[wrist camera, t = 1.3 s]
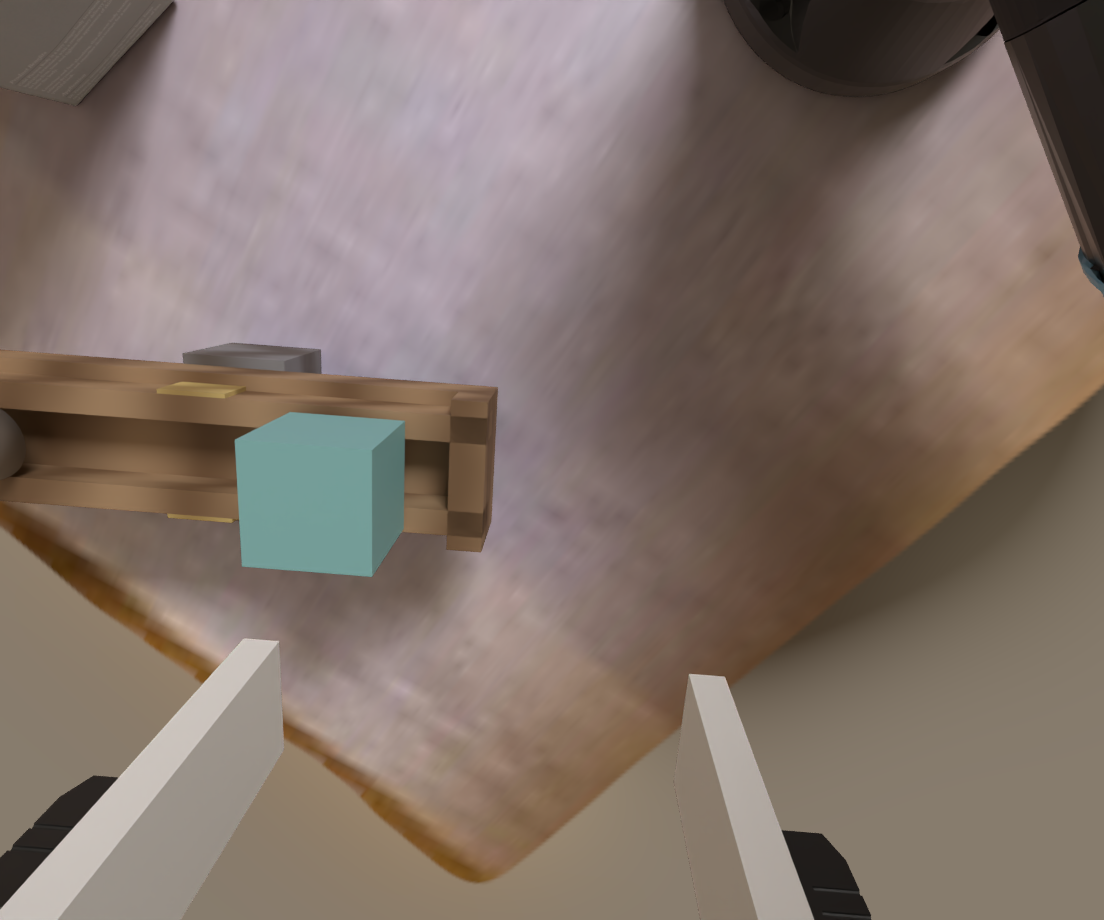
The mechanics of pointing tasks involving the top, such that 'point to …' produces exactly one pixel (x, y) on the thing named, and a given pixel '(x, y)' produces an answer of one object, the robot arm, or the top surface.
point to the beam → (227, 432)
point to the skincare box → (68, 43)
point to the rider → (320, 493)
